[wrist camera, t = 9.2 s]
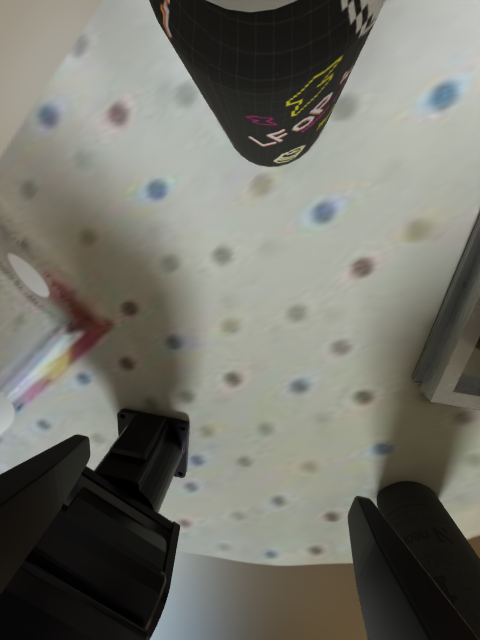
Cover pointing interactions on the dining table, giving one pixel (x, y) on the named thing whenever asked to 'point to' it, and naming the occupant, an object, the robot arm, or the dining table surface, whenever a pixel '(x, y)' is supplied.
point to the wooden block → (478, 344)
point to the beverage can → (269, 65)
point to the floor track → (456, 338)
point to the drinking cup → (435, 545)
